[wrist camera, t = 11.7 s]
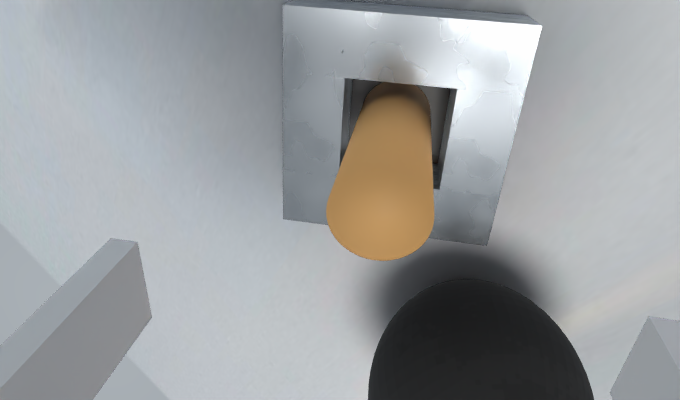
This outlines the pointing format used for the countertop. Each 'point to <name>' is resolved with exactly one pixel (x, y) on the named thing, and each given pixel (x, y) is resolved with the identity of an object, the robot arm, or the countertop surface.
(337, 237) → the orange cylindrical peg
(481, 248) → the countertop surface
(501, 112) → the grey peg socket
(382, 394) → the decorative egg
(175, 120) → the countertop surface
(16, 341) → the robot arm
